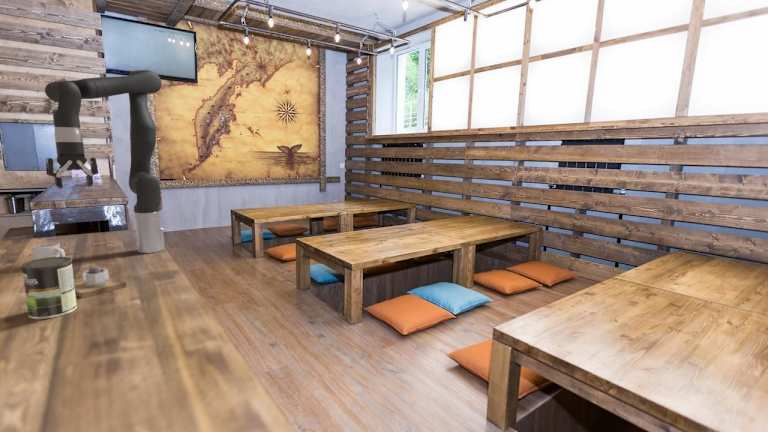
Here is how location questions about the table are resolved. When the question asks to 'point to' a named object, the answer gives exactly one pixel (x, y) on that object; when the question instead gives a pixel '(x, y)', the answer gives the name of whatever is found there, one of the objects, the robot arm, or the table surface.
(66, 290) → the coffee can
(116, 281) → the post block
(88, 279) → the ring
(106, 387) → the table surface
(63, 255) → the cup
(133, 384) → the table surface
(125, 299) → the table surface
